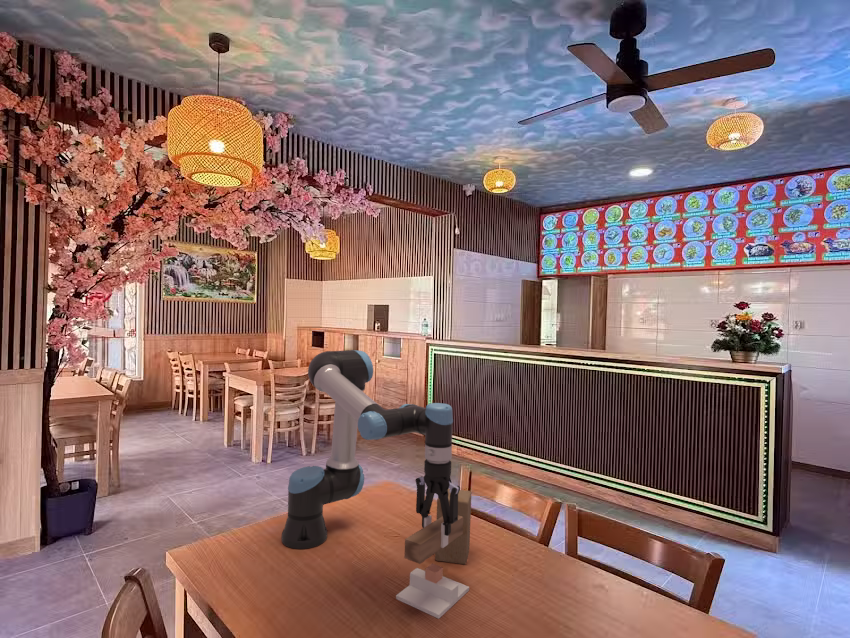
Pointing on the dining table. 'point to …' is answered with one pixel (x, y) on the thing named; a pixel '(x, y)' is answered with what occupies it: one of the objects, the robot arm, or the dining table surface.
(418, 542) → the beam
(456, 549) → the wooden block
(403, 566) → the dining table surface
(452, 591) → the stand
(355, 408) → the robot arm
